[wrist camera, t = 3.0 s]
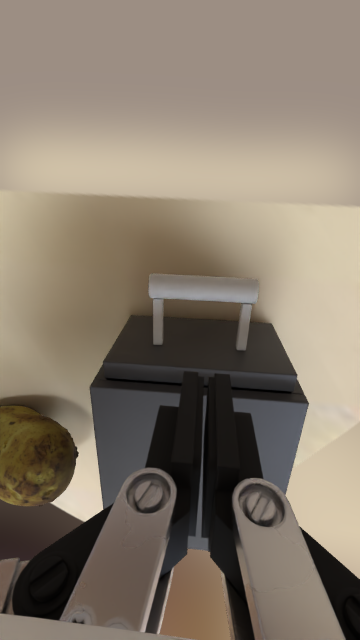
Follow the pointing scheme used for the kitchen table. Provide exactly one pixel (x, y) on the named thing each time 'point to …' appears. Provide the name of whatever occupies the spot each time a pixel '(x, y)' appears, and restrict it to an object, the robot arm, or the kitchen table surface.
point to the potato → (33, 457)
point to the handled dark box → (201, 339)
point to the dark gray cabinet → (140, 417)
